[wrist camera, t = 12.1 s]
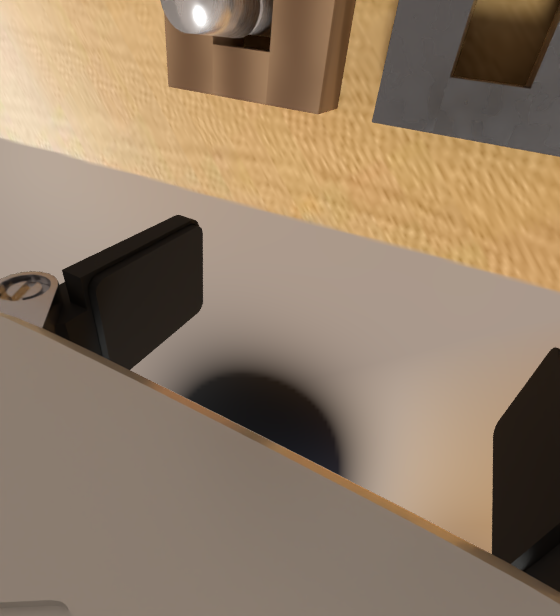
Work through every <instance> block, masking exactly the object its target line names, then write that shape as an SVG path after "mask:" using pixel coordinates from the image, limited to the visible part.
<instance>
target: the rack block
mask: <svg viewBox="0 0 560 616" xmlns="http://www.w3.org/2000/svg"><path fill="white" fill-rule="evenodd" d="M355 2H356V0H273V13H272V27H271V41H270V50H265V49H258V48H251V47H244V37H243V38H229V37H219V36H209V35H199V34H189V33H184V32H181V31H179V30H178V29H176V28H175V27H174V26H173V25H172V24H171V23H170V21H169V20H168V18H167V17H166V15H165V13H164V15H165V33H166V50H167V67H168V84H169V87H174V88H179V89H184V90H190V91H195V92H201V93H206V94H211V95H217V96H222V97H228V98H233V99H238V100H244V101H249V102H254V103H260V104H265V105H271V106H276V107H281V108H287V109H292V110H298V111H303V112H308V113H314V114H321V113H324V112H327V111H330V110H334V109H337V107H338V101H339V95H340V90H341V84H342V78H343V72H344V66H345V60H346V55H347V49H348V43H349V37H350V31H351V25H352V20H353V14H354V8H355Z"/></svg>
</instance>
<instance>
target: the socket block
mask: <svg viewBox="0 0 560 616" xmlns="http://www.w3.org/2000/svg"><path fill="white" fill-rule="evenodd" d="M476 2H477V0H399V3H398V7H397V12H396V16H395V21H394V25H393V30H392V34H391V39H390V43H389V48H388V52H387V57H386V61H385V65H384V70H383V74H382V79H381V83H380V88H379V92H378V97H377V101H376V106H375V110H374V115H373V119H372V122H374V123H379V124H385V125H390V126H396V127H401V128H406V129H412V130H417V131H423V132H428V133H434V134H439V135H445V136H450V137H455V138H461V139H466V140H472V141H477V142H483V143H488V144H494V145H499V146H504V147H510V148H515V149H521V150H526V151H532V152H537V153H542V154H548V155H553V156H559V157H560V4H559V6H558V8H557V11H556V13H555V16H554V18H553V20H552V23H551V25H550V28H549V30H548V33H547V35H546V37H545V40H544V42H543V45H542V47H541V49H540V52H539V54H538V57H537V59H536V61H535V64H534V66H533V69H532V71H531V73H530V76H529V78H528V81H527V83H526V85H525V86H522V85H515V84H508V83H501V82H494V81H487V80H480V79H472V78H465V77H458V76H453V75H454V72H455V69H456V65H457V62H458V59H459V56H460V53H461V50H462V46H463V43H464V40H465V37H466V34H467V31H468V27H469V24H470V21H471V18H472V15H473V12H474V8H475V5H476Z"/></svg>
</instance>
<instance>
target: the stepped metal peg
mask: <svg viewBox="0 0 560 616" xmlns="http://www.w3.org/2000/svg"><path fill="white" fill-rule="evenodd" d="M161 4H162V8H163V10H164V13H165V15H166V17H167V18H168V20H169V21H170V23H171V24H172V25H173V26H174V27H175V28H176V29H178V30H179V31H181V32H184V33H189V34H199V35H209V36H219V37H229V38H243V37H245V36H247V35H254V36H262V37H271V27H272V13H273V0H161Z"/></svg>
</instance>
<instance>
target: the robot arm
mask: <svg viewBox="0 0 560 616" xmlns="http://www.w3.org/2000/svg"><path fill="white" fill-rule="evenodd" d="M62 272H63V276H64V279H65V282H64V283H62V284H60V285H59V283H58V280H57V279H56V278H55V277H54V276H53V275H51V274H49V273H44V272H36V271H30V272H20V273H16V274H12V275H9V276H6V277H4V278H1V279H0V616H560V349H559V348H553V349H551V351H550V352H549V353H548V354H547V356H546V357H545V358H544V360H543V361H542V362H541V364H540V365H539V367H538V368H537V369H536V371H535V372H534V373H533V375H532V376H531V378H530V379H529V380H528V382H527V383H526V384H525V386H524V387H523V389H522V390H521V391H520V392H519V394H518V395H517V397H516V398H515V400H514V401H513V402H512V403H511V405H510V406H509V407H508V409H507V410H506V412H505V413H504V414H503V416H502V417H501V418H500V420H499V421H498V423H497V425H496V427H495V430H494V435H493V508H492V511H493V512H492V554H490V553H488V552H486V551H485V550H483V549H481V548H479V547H477V546H475V545H473V544H471V543H469V542H467V541H465V540H464V539H462V538H460V537H458V536H456V535H454V534H452V533H450V532H448V531H447V530H445V529H443V528H441V527H439V526H437V525H435V524H433V523H431V522H429V521H428V520H425V519H424V518H422V517H420V516H418V515H416V514H414V513H412V512H410V511H408V510H406V509H404V508H402V507H401V506H399V505H397V504H395V503H393V502H390V501H389V500H387V499H385V498H383V497H381V496H379V495H377V494H375V493H373V492H371V491H369V490H367V489H365V488H363V487H361V486H359V485H357V484H355V483H353V482H351V481H349V480H347V479H345V478H343V477H341V476H339V475H337V474H336V473H334V472H332V471H330V470H328V469H326V468H323V467H322V466H320V465H318V464H316V463H314V462H312V461H310V460H308V459H306V458H304V457H302V456H300V455H298V454H296V453H294V452H292V451H290V450H288V449H286V448H284V447H282V446H280V445H278V444H276V443H274V442H272V441H270V440H268V439H266V438H264V437H262V436H260V435H258V434H256V433H254V432H252V431H250V430H248V429H246V428H244V427H243V426H241V425H238V424H237V423H234V422H232V421H231V420H229V419H227V418H225V417H222V416H220V415H218V414H217V413H215V412H213V411H210V410H208V409H206V408H204V407H202V406H200V405H199V404H197V403H195V402H192V401H190V400H189V399H187V398H185V397H183V396H181V395H178V394H177V393H175V392H172V391H171V390H169V389H167V388H165V387H162V386H160V385H158V384H156V383H154V382H152V381H150V380H148V379H146V378H144V377H142V376H140V375H138V374H136V373H134V372H132V371H130V369H131V368H133V367H134V366H135V365H136V364H137V363H139V362H140V361H141V360H142V359H143V358H145V357H146V356H147V355H148V354H149V353H151V352H152V351H153V350H154V349H155V348H157V347H158V346H159V345H160V344H161V343H163V342H164V341H165V340H166V339H167V338H168V337H170V336H171V335H172V334H173V333H174V332H176V331H177V330H178V329H179V328H180V327H182V326H183V325H184V324H185V323H186V322H187V321H189V320H190V319H191V318H192V317H193V316H195V315H196V314H197V313H198V312H199V311H200V309H201V307H202V304H203V233H202V229H201V228H200V227H199V225H198V222H197V221H196V220H193V219H189V218H187V217H184V216H181V215H176V216H174V217H172V218H169V219H167V220H165V221H163V222H161V223H159V224H157V225H155V226H153V227H151V228H149V229H146V230H144V231H142V232H140V233H138V234H136V235H134V236H132V237H130V238H128V239H126V240H124V241H121V242H119V243H118V244H115V245H113V246H111V247H109V248H107V249H105V250H103V251H101V252H99V253H97V254H95V255H92V256H90V257H88V258H86V259H84V260H82V261H80V262H78V263H76V264H74V265H71V266H69V267H67V268H65V269H63V270H62Z"/></svg>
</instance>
